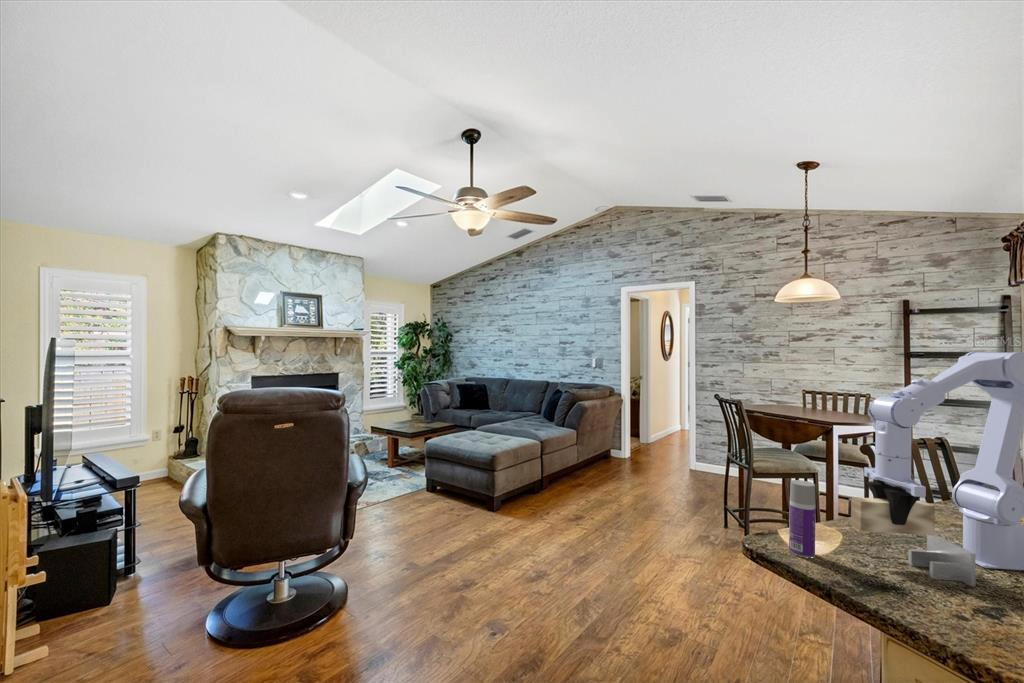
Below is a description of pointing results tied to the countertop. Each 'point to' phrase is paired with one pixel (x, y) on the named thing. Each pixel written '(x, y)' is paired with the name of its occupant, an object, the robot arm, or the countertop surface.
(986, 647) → the countertop surface
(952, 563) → the bracket
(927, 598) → the countertop surface
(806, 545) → the container
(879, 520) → the rail
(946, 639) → the countertop surface
